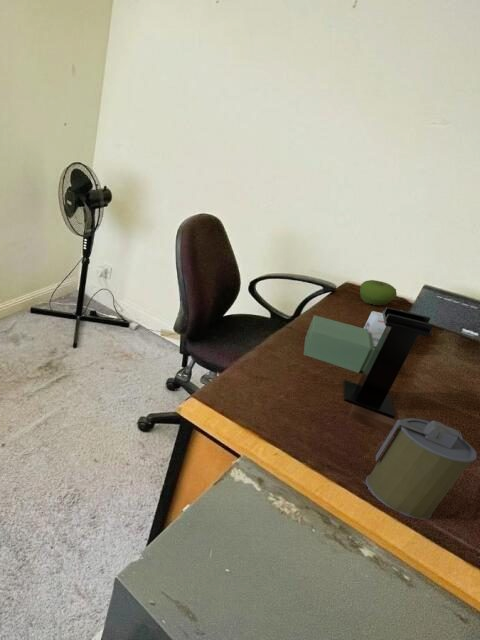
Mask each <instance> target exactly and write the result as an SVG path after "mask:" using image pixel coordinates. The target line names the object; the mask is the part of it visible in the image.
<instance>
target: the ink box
mask: <svg viewBox="0 0 480 640" xmlns="http://www.w3.org/2000/svg"><path fill="white" fill-rule="evenodd" d="M368 316H369V317H368V319H367V321H366V322H365V324H364V326H363V328H364V329H367V330H368V333H369V334H372V337H373V343H374V346H377V344H378V342H379V340H380V338H381V336H382V334H383V332H384V330H385V327H386V326H385V323H384V318H383V314H382V312H378V311H374V310H372V311H371V312H370V314H369V315H368Z"/></svg>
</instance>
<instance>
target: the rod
mask: <svg viewBox="0 0 480 640" xmlns="http://www.w3.org/2000/svg"><path fill="white" fill-rule="evenodd" d="M349 418H350V419H349ZM348 419H349V420H351V421H355V422H356V423H359V424H362V425H365V426H368V427H370V428H372V429H375V430H378V431H379V432H383V433H385V434H388V435H389V433H390V432H391V430H392V429H393V427H394V425H395V424H396V422H397V420H398V419H395V418H393V419H392V418H389V417H386V416H384V415H381V414H378V413H375V412H373V411H370V410H367V409H365V408H362V407H359V406H356V405H354V404H352V405H351V407H350V409H349V411H348ZM399 428H400V425H399V426H398V427H397V429H396V431H395V432H394V434H393V435H392V437H394V436H395V434H396V433H397V431H398V430H399Z"/></svg>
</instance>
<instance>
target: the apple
mask: <svg viewBox="0 0 480 640" xmlns="http://www.w3.org/2000/svg"><path fill="white" fill-rule="evenodd" d="M359 288H360V289H359V295H360V299H361V300H362V301H363V302H364V303H365V302H366V303H365V304H367V303H369V304H368V305H370V304H373V305H372V306H375V305H378V306H384V305H386V304H389V303H390V302H391V301H393V300H394V299H395V298H396V296H398V295H397V289H396V288H395V287H394V286H393V285H391V284H390V283H387V282H385V281H380V280H374V279H369V280H365V281H363V282H362V283H361V284H360V287H359Z"/></svg>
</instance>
